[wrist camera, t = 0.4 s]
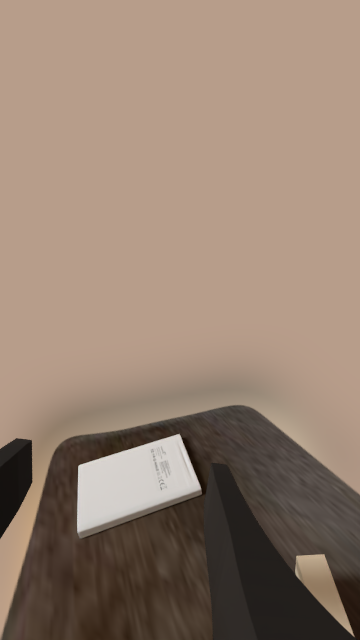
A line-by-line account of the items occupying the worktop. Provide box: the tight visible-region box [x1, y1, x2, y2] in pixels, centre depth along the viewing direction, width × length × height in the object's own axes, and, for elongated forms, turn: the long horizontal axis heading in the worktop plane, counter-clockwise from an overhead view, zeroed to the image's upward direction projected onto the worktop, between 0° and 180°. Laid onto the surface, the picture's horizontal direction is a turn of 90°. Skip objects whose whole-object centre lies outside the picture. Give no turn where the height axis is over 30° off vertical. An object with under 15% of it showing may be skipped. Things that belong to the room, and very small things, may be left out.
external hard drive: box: [77, 434, 202, 539], centre depth 34 cm, size 2×8×12 cm
